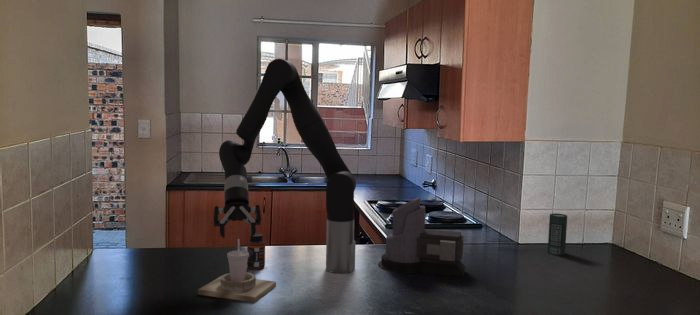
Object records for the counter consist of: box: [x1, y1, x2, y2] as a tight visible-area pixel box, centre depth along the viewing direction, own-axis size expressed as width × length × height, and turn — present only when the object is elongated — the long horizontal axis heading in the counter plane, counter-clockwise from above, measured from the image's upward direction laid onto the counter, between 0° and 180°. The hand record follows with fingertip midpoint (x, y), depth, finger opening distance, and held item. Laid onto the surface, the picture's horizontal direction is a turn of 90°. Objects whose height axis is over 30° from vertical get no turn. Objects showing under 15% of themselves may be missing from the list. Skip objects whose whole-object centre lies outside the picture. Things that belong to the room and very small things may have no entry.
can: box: [547, 213, 568, 256], centre depth 206 cm, size 6×6×15 cm
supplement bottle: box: [246, 233, 266, 271], centre depth 178 cm, size 6×6×11 cm
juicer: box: [377, 196, 466, 278], centre depth 183 cm, size 30×16×24 cm, turn 75°
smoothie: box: [226, 238, 249, 282], centre depth 156 cm, size 6×6×14 cm
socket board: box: [197, 271, 277, 303], centre depth 156 cm, size 18×14×4 cm
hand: (238, 236), depth 160 cm, fingers open, 8 cm apart
